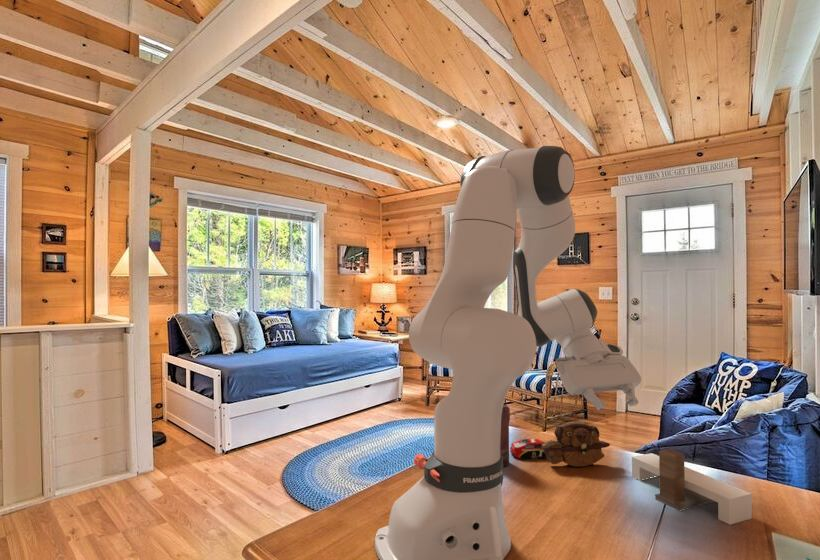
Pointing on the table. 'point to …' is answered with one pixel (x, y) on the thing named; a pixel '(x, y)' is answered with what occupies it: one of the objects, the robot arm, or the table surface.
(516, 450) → the race car
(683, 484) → the brown l-shaped block
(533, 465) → the table surface
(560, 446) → the wooden carving
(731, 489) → the low shelf
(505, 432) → the can
